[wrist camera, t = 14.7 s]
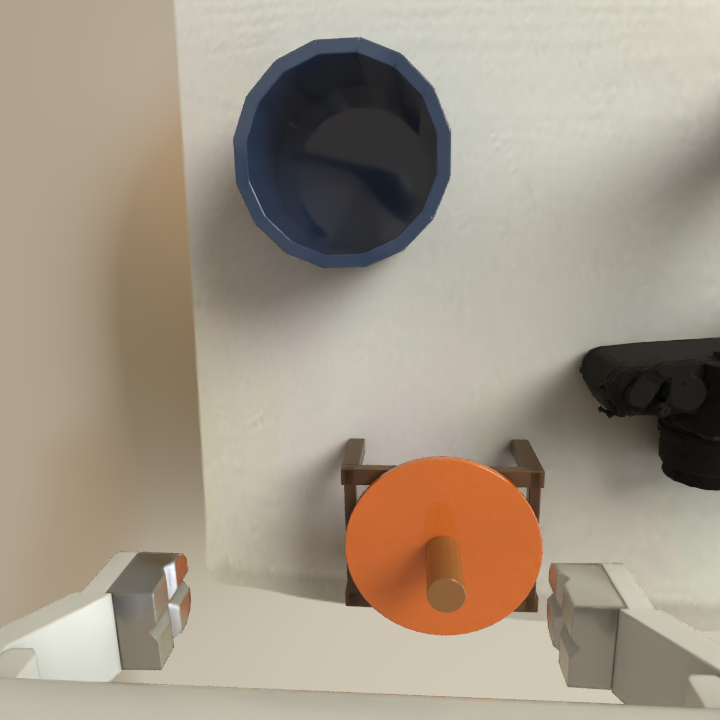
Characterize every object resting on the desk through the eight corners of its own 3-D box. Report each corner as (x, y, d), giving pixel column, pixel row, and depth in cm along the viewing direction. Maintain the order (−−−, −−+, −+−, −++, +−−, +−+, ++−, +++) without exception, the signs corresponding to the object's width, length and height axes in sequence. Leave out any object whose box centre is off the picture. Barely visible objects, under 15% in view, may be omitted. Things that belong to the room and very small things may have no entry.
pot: (274, 260, 44) (242, 269, 36) (263, 79, 41) (225, 44, 33) (442, 257, 43) (449, 265, 35) (443, 70, 40) (452, 31, 32)
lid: (349, 621, 44) (339, 685, 38) (343, 451, 41) (331, 491, 35) (534, 627, 42) (555, 695, 36) (543, 453, 39) (567, 495, 33)
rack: (353, 560, 49) (345, 606, 43) (349, 438, 47) (340, 469, 41) (522, 565, 48) (537, 612, 42) (527, 439, 45) (544, 471, 40)
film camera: (575, 459, 45) (613, 516, 37) (576, 338, 43) (617, 367, 35) (782, 452, 44) (874, 509, 35) (794, 325, 42) (895, 353, 33)
